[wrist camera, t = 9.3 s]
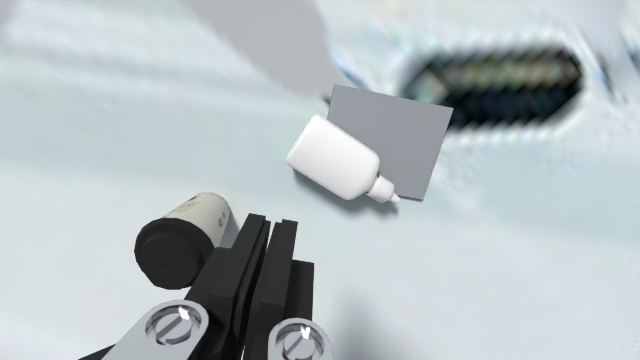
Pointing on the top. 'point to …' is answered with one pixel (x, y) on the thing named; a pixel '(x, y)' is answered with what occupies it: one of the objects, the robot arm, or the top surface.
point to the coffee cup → (182, 241)
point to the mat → (393, 134)
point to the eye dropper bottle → (339, 162)
